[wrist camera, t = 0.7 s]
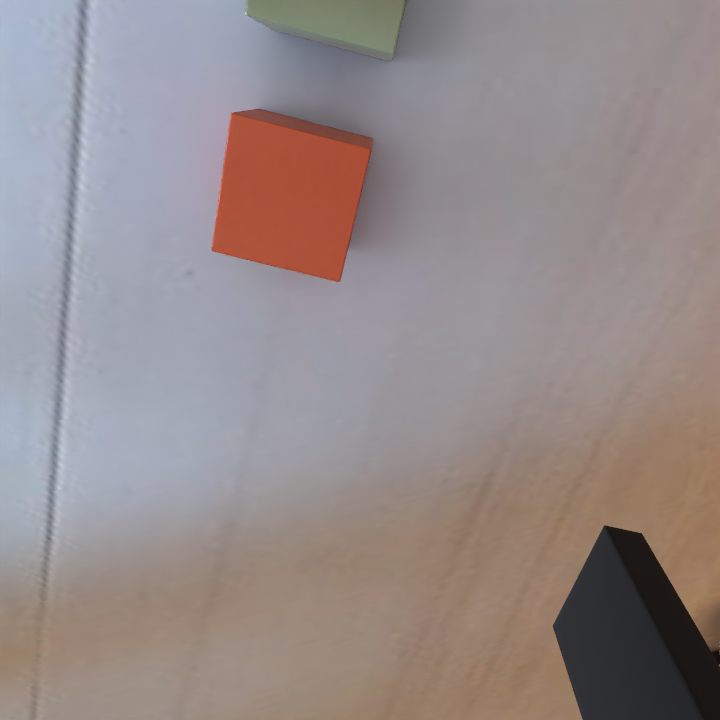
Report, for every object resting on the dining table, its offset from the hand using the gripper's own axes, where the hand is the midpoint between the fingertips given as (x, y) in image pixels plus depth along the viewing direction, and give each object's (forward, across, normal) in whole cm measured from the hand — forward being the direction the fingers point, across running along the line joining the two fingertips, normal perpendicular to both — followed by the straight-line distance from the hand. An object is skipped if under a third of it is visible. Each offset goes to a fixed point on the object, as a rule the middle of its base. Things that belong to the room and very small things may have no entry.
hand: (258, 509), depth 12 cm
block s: (+18, -2, +3) cm, 18 cm away
